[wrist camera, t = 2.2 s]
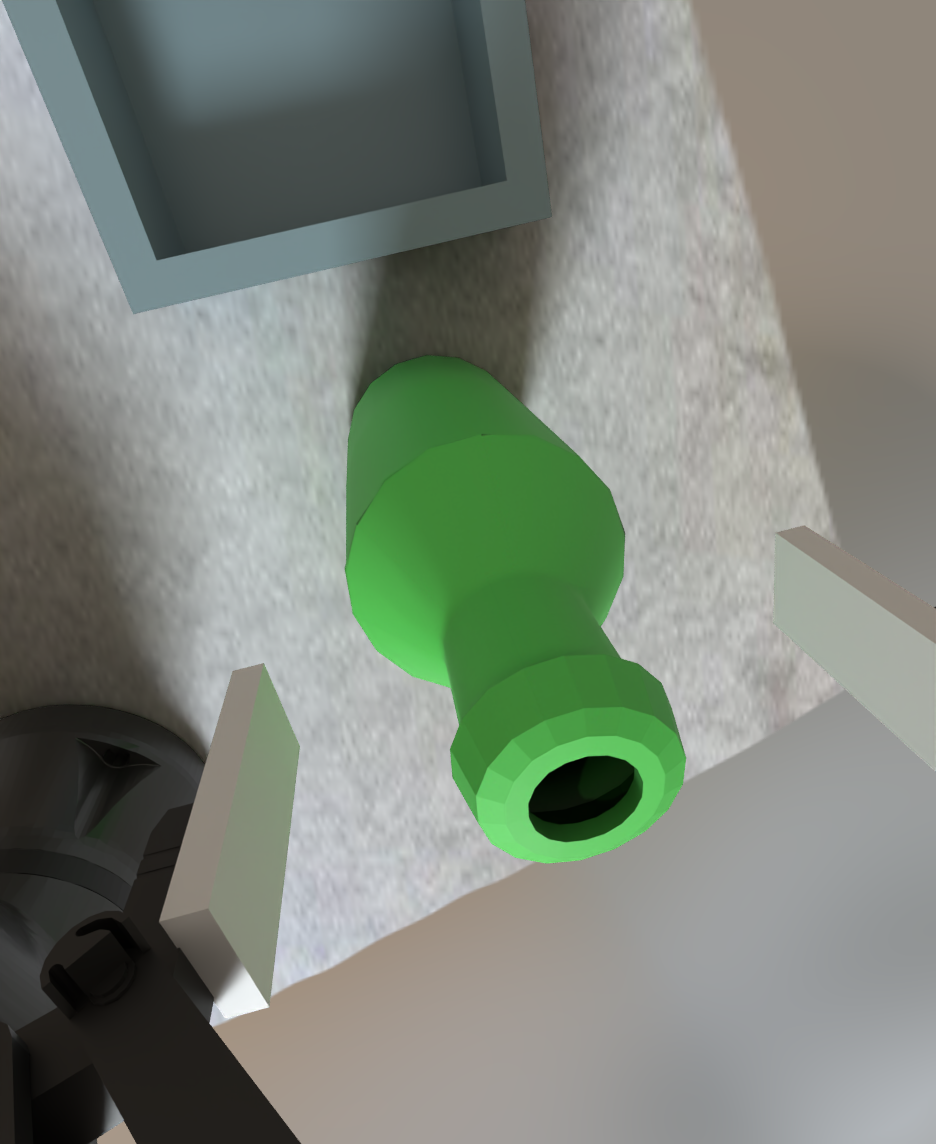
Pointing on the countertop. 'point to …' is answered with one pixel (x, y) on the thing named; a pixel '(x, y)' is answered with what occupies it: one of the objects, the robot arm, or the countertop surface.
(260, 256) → the bin
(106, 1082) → the robot arm
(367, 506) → the bottle
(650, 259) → the countertop surface
